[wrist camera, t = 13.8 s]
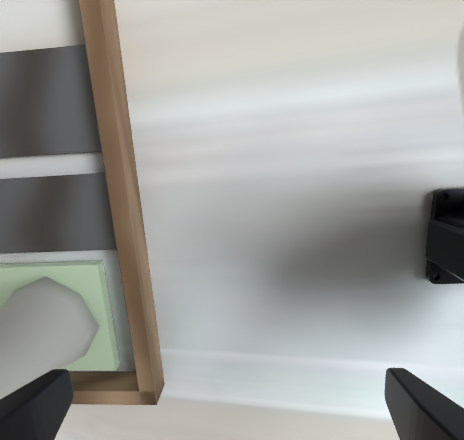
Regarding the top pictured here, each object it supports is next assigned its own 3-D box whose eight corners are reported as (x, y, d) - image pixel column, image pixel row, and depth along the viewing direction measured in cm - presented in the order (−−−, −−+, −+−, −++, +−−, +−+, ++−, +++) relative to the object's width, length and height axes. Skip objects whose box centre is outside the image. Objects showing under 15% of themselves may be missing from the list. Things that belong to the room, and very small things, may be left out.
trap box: (86, -212, 16) (62, -264, 14) (164, 384, 24) (156, 404, 22) (-113, -178, 17) (-162, -222, 15) (28, 383, 25) (9, 403, 23)
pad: (102, 260, 22) (97, 264, 21) (120, 363, 24) (115, 370, 23) (-8, 264, 23) (-17, 268, 22) (18, 364, 25) (10, 370, 24)
